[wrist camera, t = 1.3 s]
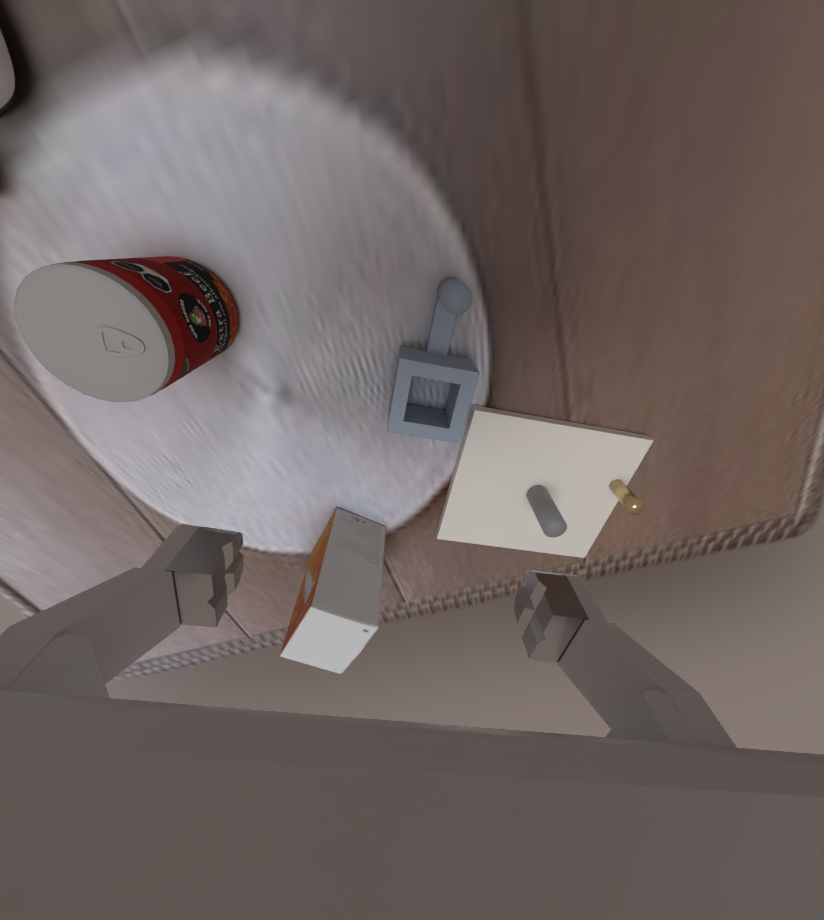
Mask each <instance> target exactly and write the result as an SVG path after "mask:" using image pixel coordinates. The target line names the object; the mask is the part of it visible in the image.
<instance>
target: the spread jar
mask: <svg viewBox="0 0 824 920" xmlns="http://www.w3.org/2000/svg"><path fill="white" fill-rule="evenodd" d="M17 86H18V80H17V73H16V68H15V63H14V60H13V56H12V53H11V50H10V47H9V44H8V41H7V39H6V36H5V34H4V31H3V29H2V27H1V25H0V114H1V113H3V112H4V111H5V110H7V109H8V108H9V107H10V105H11V104H12V102H13V101H14V99H15V96H16V93H17Z"/></svg>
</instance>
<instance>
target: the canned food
mask: <svg viewBox="0 0 824 920" xmlns="http://www.w3.org/2000/svg"><path fill="white" fill-rule="evenodd" d="M14 308H15V317H16V321H17V325H18V329H19V331H20V333H21V335H22V337H23V339H24V341H25V343H26V344H27V346H28V347H29V349H30V350H31V352H32V353H33V355H34V356H35V357H36V358H37V359H38V360H39V362H40V363H41V364H42V365H43V366H44V367H45V368H46V369H47V370H48V371H50V372H51V373H52V374H53V375H54V376H55V377H56V378H58V379H59V380H61V381H62V382H64V383H65V384H67V385H68V386H70V387H72V388H74V389H76V390H78V391H80V392H81V393H83V394H86V395H89V396H92V397H94V398H97V399H102V400H106V401H111V402H130V401H137V400H140V399H143V398H146V397H148V396H151V395H153V394H155V393H157V392H158V391H160V390H162V389H164V388H165V387H167V386H169V385H170V384H172V383H174V382H175V381H177V380H178V379H180V378H182V377H183V376H185V375H186V374H188V373H190V372H191V371H193V370H195V369H196V368H198V367H199V366H201V365H203V364H204V363H206V362H207V361H209V360H211V359H212V358H214V357H216V356H217V355H219V354H220V353H222V352H223V351H225V350H226V349H227V348H228V347H229V346H230V345H231V343H232V341H233V339H234V338H235V334H236V331H237V327H238V314H237V308H236V305H235V303H234V300H233V298H232V296H231V294H230V292H229V291H228V289H227V288H226V287H225V285H224V284H223V283H222V282H221V281H220V280H219V279H218V278H217V277H216V276H215V275H214V274H213V273H211V272H210V271H208V270H207V269H205V268H204V267H202V266H200V265H198V264H196V263H194V262H192V261H190V260H186V259H183V258H179V257H168V256H166V257H146V258H127V259H108V260H88V261H77V262H65V263H58V264H52V265H49V266H44V267H41V268H39V269H37V270H34V271H32V272H31V273H30V274H29V275H27V276H26V277H25V278H24V279H23V280H22V282H21V284H20V285H19V287H18V289H17V292H16V296H15V300H14Z"/></svg>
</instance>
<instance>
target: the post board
mask: <svg viewBox="0 0 824 920" xmlns="http://www.w3.org/2000/svg"><path fill="white" fill-rule="evenodd" d="M652 442H653V440H652V439H651V438H649V437H648V436H647V435H643V434H637V433H632V432H626V431H620V430H614V429H608V428H603V427H597V426H591V425H585V424H579V423H574V422H568V421H562V420H556V419H551V418H545V417H539V416H533V415H527V414H522V413H516V412H510V411H504V410H498V409H493V408H487V407H481V406H475V405H473V407H472V410H471V413H470V417H469V420H468V424H467V427H466V431H465V434H464V437H463V441H462V444H461V448H460V451H459V455H458V458H457V461H456V465H455V468H454V472H453V475H452V479H451V482H450V486H449V489H448V492H447V496H446V499H445V503H444V506H443V510H442V513H441V516H440V520H439V523H438V527H437V530H436V535H437V539H443V540H450V541H458V542H466V543H474V544H481V545H489V546H497V547H504V548H512V549H520V550H528V551H535V552H543V553H551V554H558V555H566V556H574V557H581V558H585V556H586V554H587V552H588V551H589V549H590V547H591V546H592V544H593V542H594V541H595V539H596V537H597V535H598V534H599V532H600V530H601V529H602V527H603V525H604V524H605V522H606V520H607V519H608V517H609V515H610V513H611V512H612V510H613V508H614V507H615V505H616V503H617V502H618V500H619V499H618V498H617V497H616V496H615V494H614V493H613V492H612V491H611V490H610V488H609V484H610V483H611V482H612V481H613V480H616V479H620V480H622V481H623V483H624V484H625V485H626V486H627V485H628V483H629V481H630V479H631V478H632V476H633V474H634V473H635V471H636V469H637V468H638V466H639V464H640V463H641V461H642V459H643V457H644V456H645V454H646V452H647V451H648V449H649V447H650V446H651V444H652Z"/></svg>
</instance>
